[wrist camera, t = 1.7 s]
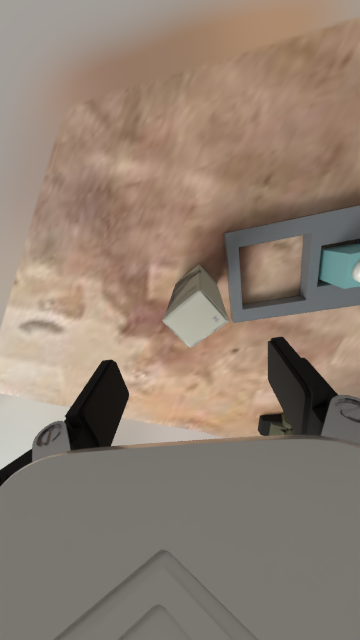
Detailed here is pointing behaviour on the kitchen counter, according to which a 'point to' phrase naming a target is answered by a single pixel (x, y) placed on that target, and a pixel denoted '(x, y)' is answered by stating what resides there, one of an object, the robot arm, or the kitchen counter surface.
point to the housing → (313, 294)
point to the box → (195, 307)
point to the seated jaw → (340, 265)
